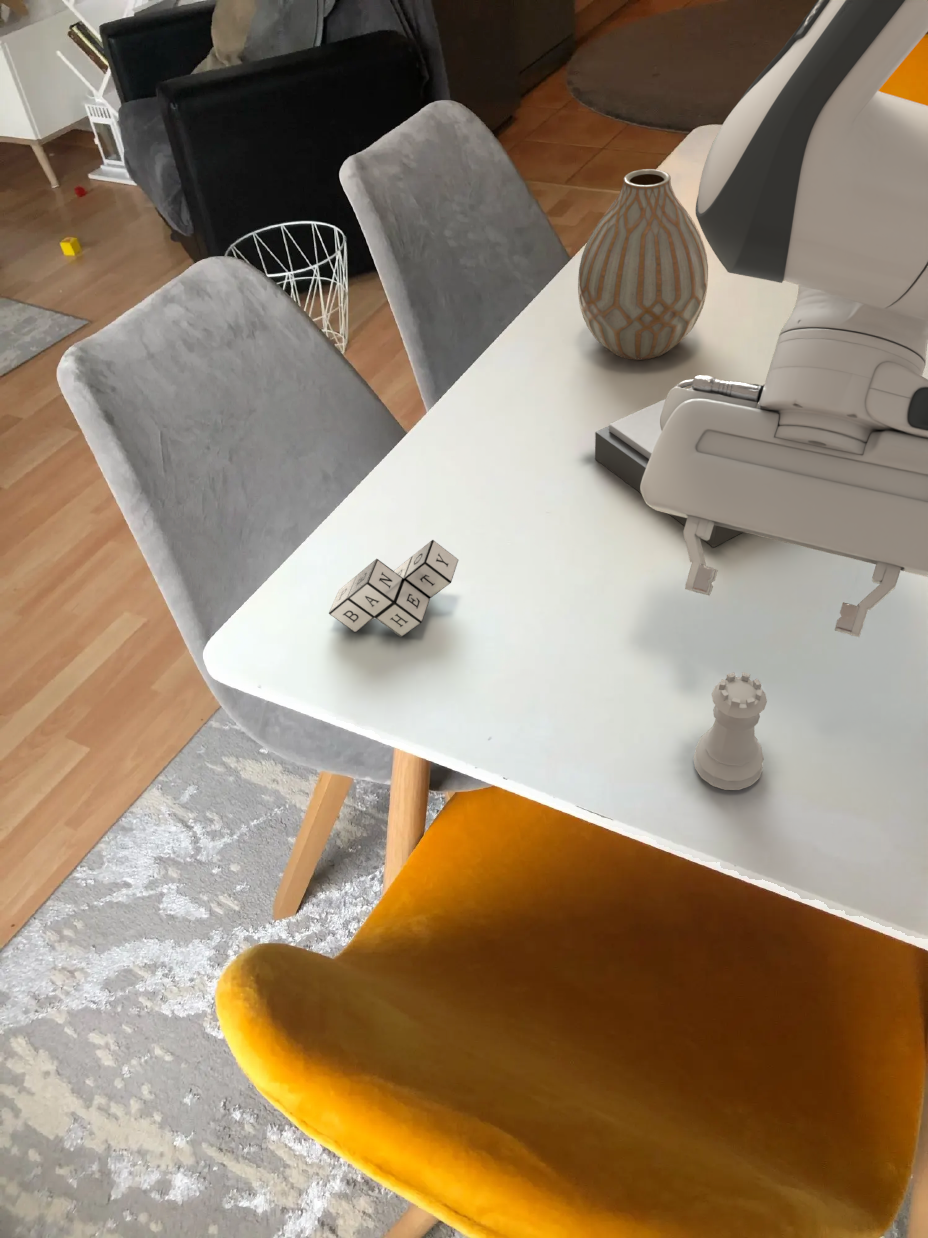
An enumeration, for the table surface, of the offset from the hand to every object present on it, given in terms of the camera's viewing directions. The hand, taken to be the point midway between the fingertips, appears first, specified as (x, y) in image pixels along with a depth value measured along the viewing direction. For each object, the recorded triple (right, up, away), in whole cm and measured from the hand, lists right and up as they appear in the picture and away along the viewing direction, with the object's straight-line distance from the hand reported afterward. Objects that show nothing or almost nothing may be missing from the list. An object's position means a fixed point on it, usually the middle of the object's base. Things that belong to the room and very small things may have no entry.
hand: (769, 612), depth 61 cm
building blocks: (-25, 0, +16) cm, 30 cm away
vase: (0, +29, +43) cm, 52 cm away
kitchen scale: (+3, +13, +26) cm, 29 cm away
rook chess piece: (-2, -10, +3) cm, 11 cm away
